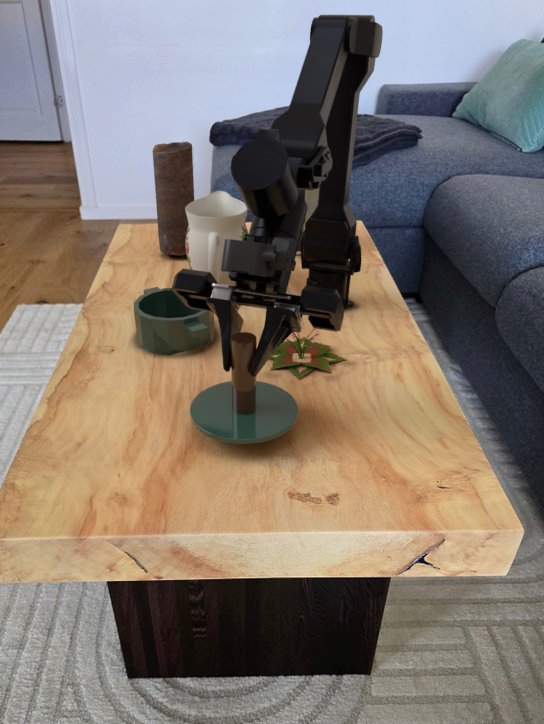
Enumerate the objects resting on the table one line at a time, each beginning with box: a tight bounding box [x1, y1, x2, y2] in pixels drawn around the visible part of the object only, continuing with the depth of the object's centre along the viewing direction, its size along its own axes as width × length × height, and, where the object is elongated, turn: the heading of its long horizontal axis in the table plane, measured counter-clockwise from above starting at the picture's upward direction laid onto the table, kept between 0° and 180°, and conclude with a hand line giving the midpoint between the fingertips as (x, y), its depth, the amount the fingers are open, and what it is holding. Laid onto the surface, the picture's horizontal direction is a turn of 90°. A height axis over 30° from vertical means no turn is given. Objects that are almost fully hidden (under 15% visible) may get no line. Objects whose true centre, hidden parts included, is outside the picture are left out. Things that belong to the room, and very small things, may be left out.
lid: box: [189, 331, 299, 445], centre depth 71 cm, size 13×13×10 cm
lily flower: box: [269, 328, 347, 380], centre depth 88 cm, size 12×12×5 cm
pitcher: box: [185, 190, 249, 286], centre depth 108 cm, size 11×18×14 cm, turn 177°
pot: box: [133, 286, 215, 356], centre depth 94 cm, size 12×17×6 cm
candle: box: [152, 141, 195, 257], centre depth 119 cm, size 8×7×20 cm
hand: (239, 373), depth 69 cm, fingers closed on lid, 3 cm apart
